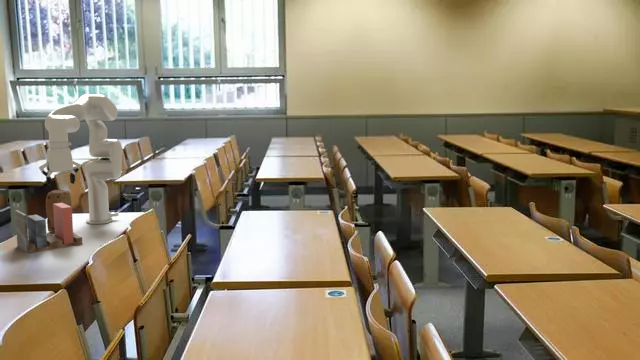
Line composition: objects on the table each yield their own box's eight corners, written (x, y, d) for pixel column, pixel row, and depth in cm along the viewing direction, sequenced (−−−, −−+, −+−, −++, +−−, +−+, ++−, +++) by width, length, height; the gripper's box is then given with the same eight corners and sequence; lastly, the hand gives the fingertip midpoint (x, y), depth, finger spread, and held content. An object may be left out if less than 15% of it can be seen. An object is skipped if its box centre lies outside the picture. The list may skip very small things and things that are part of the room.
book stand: (71, 237, 276) (69, 203, 273) (82, 244, 266) (80, 208, 263) (17, 246, 261) (14, 209, 258) (26, 253, 251) (24, 215, 248)
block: (74, 231, 288) (72, 190, 285) (64, 234, 281) (61, 192, 278) (55, 229, 291) (53, 188, 288) (44, 233, 284) (42, 191, 281)
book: (64, 237, 273) (62, 202, 270) (73, 242, 264) (71, 206, 261) (55, 238, 270) (53, 203, 268) (64, 244, 261) (62, 208, 259)
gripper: (76, 143, 269) (78, 181, 272) (35, 146, 258) (37, 185, 260) (82, 145, 264) (84, 183, 266) (40, 147, 252) (43, 187, 255)
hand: (61, 184), depth 263 cm, fingers open, 9 cm apart
